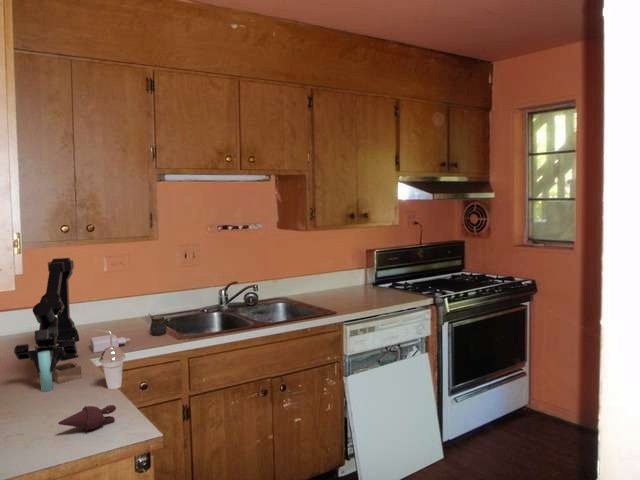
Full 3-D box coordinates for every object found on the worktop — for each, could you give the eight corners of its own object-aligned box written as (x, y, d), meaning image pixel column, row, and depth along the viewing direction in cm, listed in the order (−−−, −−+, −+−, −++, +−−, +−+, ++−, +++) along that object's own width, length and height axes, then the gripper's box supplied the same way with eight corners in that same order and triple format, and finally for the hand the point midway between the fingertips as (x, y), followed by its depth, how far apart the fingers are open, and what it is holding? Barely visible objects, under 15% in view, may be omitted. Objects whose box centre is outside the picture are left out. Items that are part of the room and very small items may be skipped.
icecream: (60, 420, 148) (119, 410, 156) (57, 404, 153) (113, 396, 162) (59, 442, 150) (117, 431, 158) (55, 425, 155) (111, 416, 164)
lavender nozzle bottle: (132, 347, 232) (94, 354, 224) (128, 342, 240) (91, 348, 232) (131, 336, 231) (93, 342, 224) (127, 331, 239) (90, 337, 232)
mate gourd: (167, 335, 247) (165, 313, 246) (149, 337, 245) (147, 315, 243) (167, 331, 254) (165, 310, 252) (150, 333, 252) (148, 311, 250)
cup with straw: (110, 393, 182) (105, 334, 179) (94, 387, 187) (90, 329, 185) (132, 385, 188) (128, 327, 186) (117, 379, 194) (113, 324, 192)
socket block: (50, 378, 198) (49, 367, 197) (73, 372, 203) (72, 361, 203) (58, 383, 192) (57, 372, 191) (81, 377, 197) (80, 366, 197)
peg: (39, 389, 187) (36, 352, 185) (51, 386, 189) (47, 349, 188) (43, 392, 184) (39, 354, 183) (54, 389, 187) (51, 352, 185)
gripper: (12, 321, 185) (7, 364, 176) (73, 316, 190) (71, 357, 181) (20, 338, 194) (15, 379, 184) (78, 332, 199) (76, 372, 189)
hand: (44, 372), depth 185 cm, fingers closed on peg, 4 cm apart
